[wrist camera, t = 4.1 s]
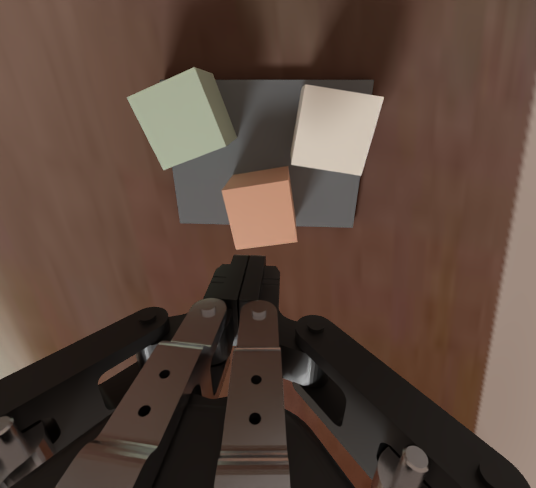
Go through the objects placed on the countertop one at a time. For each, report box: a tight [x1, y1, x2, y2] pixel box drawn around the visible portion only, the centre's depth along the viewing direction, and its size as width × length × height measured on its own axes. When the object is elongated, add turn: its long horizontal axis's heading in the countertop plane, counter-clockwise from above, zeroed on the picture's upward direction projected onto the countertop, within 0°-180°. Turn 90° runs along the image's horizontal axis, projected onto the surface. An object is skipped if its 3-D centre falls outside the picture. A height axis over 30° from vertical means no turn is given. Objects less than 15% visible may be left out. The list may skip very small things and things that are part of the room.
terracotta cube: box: [222, 166, 297, 250], centre depth 22 cm, size 4×4×4 cm
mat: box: [160, 80, 374, 228], centre depth 23 cm, size 11×15×1 cm
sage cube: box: [127, 67, 237, 170], centre depth 20 cm, size 4×4×4 cm
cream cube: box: [290, 84, 384, 176], centre depth 19 cm, size 4×4×4 cm
